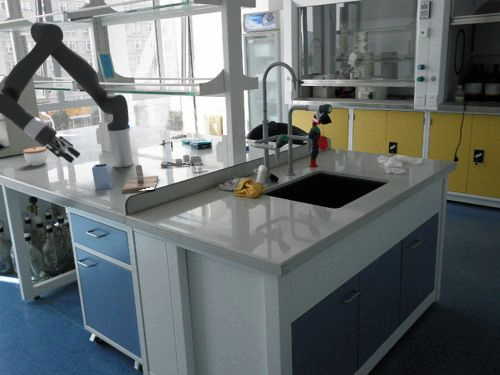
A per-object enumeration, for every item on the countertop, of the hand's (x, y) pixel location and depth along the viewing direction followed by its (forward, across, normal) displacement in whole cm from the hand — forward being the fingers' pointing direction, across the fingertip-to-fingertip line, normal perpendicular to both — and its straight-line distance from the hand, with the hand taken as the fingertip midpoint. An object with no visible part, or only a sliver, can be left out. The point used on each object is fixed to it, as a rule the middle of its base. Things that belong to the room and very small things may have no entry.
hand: (75, 158), depth 180 cm
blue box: (+15, 0, +2) cm, 16 cm away
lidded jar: (-16, +53, +35) cm, 65 cm away
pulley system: (+39, +24, -20) cm, 50 cm away
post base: (+26, -2, -8) cm, 27 cm away
